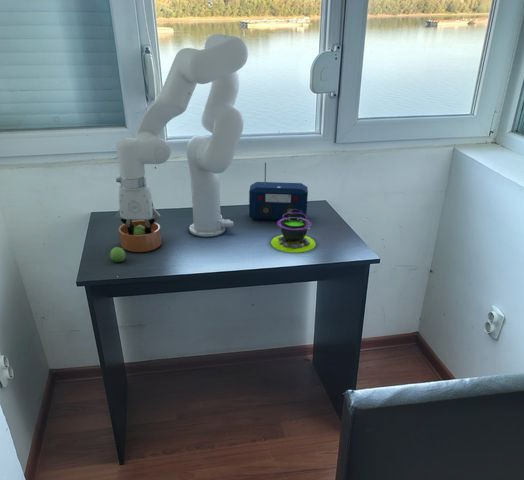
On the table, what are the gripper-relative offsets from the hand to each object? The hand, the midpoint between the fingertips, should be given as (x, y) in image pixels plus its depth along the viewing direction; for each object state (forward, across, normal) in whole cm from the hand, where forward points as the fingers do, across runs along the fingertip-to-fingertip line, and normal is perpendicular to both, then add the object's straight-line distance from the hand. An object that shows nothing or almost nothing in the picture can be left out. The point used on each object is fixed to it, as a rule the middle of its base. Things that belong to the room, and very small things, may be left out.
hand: (140, 237), depth 170 cm
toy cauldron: (+3, +50, +4) cm, 51 cm away
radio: (+3, +46, +27) cm, 53 cm away
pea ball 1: (+1, -4, -13) cm, 13 cm away
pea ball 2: (-2, 0, 0) cm, 2 cm away
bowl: (+3, 0, 0) cm, 3 cm away
